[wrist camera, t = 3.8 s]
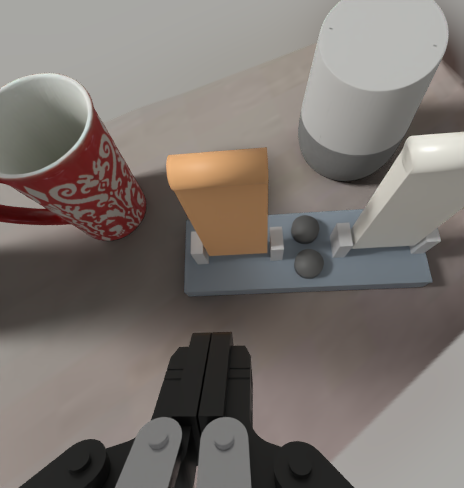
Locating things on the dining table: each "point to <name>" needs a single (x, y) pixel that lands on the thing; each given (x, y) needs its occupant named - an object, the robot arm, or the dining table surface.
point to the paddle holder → (306, 260)
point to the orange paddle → (224, 198)
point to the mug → (64, 160)
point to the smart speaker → (368, 83)
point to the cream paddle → (414, 193)
